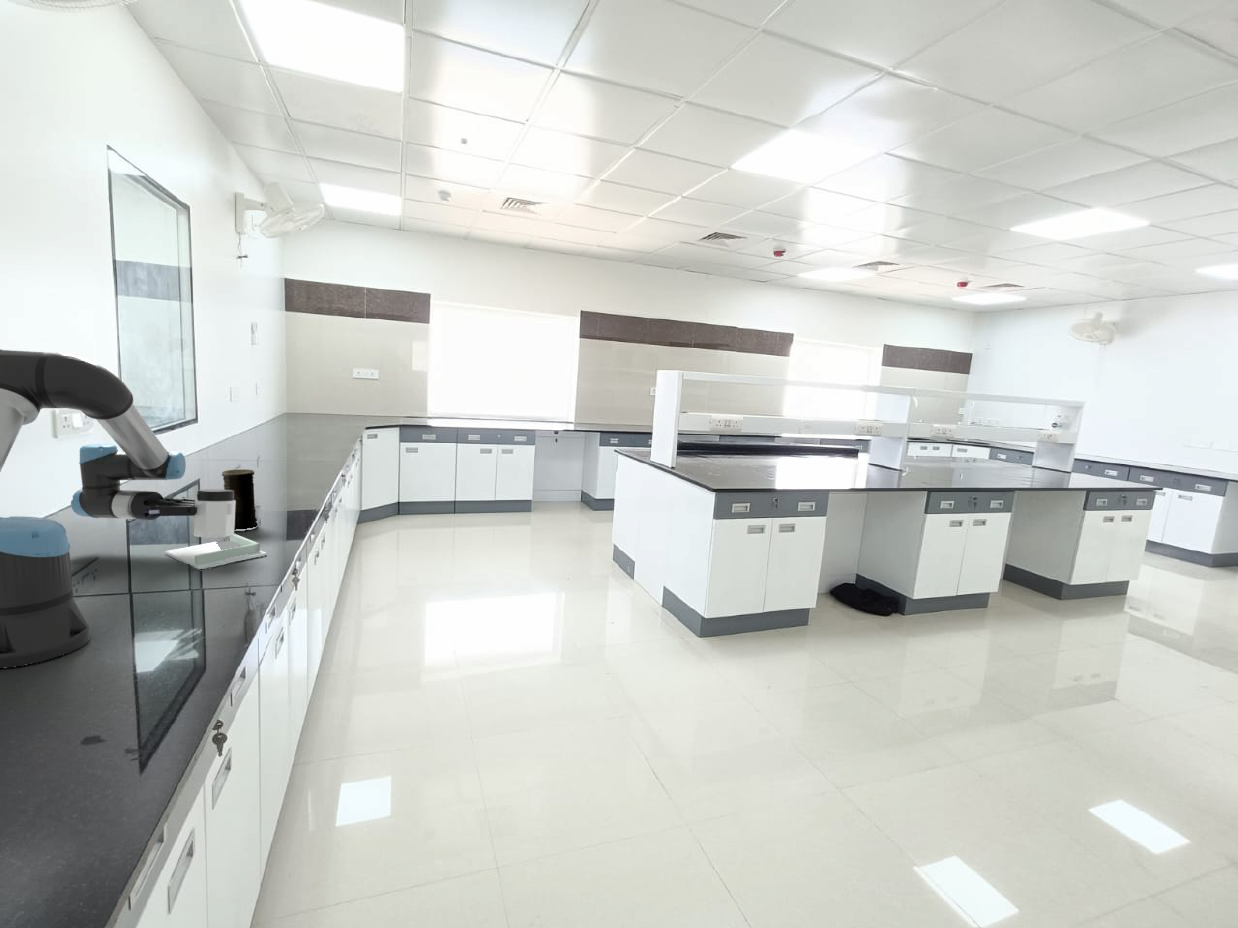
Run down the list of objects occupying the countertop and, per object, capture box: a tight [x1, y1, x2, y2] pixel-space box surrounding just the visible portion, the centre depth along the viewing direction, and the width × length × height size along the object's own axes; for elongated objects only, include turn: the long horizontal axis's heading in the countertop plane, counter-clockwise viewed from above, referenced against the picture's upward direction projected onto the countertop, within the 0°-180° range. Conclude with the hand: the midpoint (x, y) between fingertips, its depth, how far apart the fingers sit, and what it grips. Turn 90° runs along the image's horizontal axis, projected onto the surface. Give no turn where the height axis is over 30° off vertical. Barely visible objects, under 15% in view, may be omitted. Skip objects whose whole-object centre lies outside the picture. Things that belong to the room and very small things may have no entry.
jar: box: [193, 488, 236, 538], centre depth 158 cm, size 9×8×12 cm
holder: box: [164, 533, 268, 569], centre depth 159 cm, size 20×16×3 cm
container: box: [221, 468, 259, 530], centre depth 182 cm, size 9×9×18 cm
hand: (229, 509), depth 157 cm, fingers closed
